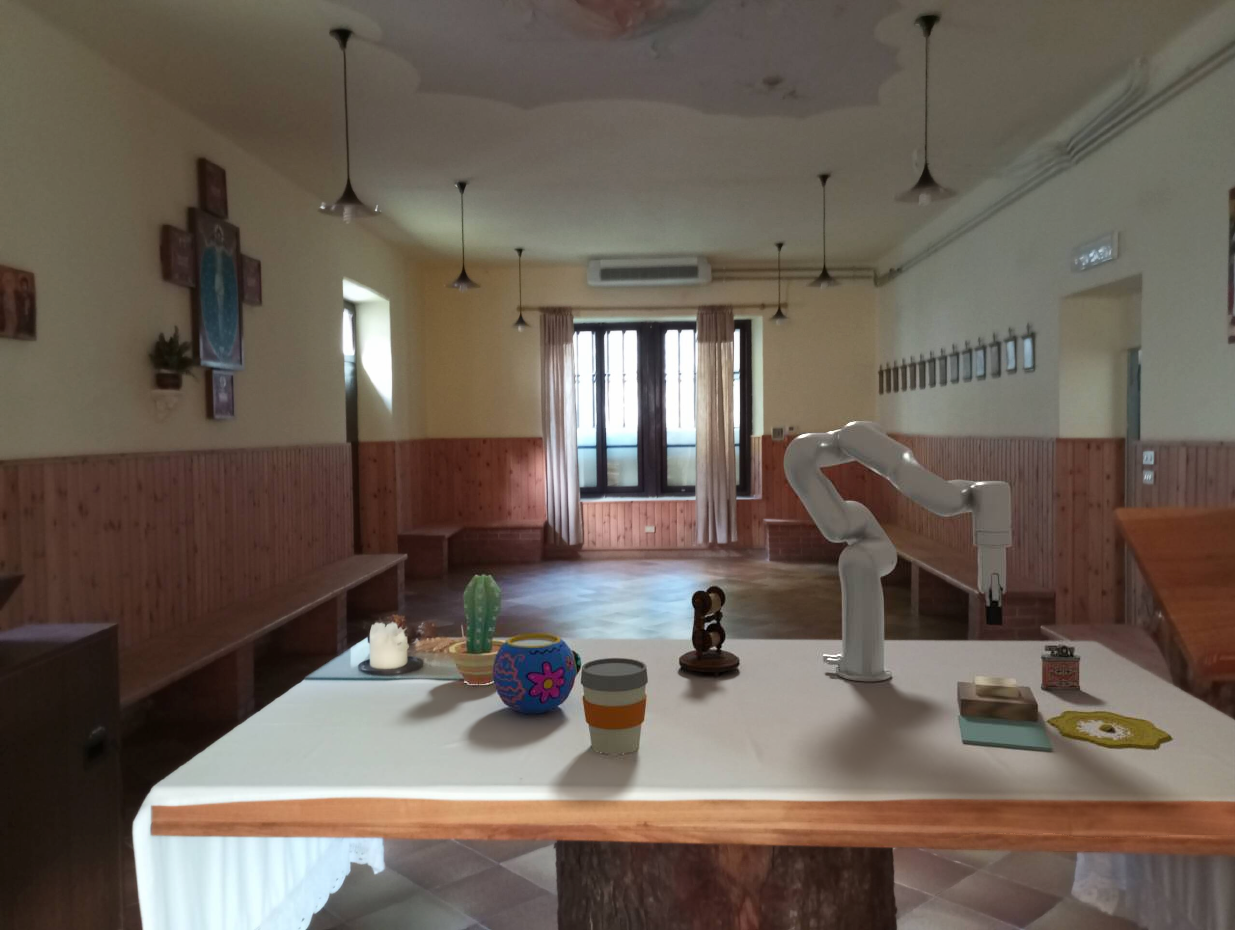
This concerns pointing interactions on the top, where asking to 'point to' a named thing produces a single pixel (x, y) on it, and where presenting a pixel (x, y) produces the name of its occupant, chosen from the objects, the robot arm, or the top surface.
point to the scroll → (708, 635)
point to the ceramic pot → (535, 672)
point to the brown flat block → (997, 704)
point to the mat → (1003, 733)
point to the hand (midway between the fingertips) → (993, 623)
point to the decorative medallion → (1141, 729)
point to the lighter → (1060, 669)
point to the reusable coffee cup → (614, 703)
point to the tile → (995, 686)
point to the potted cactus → (479, 631)
